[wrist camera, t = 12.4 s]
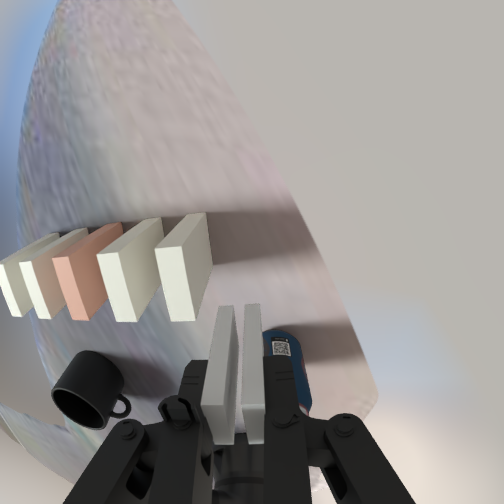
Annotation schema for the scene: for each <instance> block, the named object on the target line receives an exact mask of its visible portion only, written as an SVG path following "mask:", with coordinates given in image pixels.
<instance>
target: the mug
mask: <svg viewBox="0 0 504 504" xmlns="http://www.w3.org/2000/svg"><path fill="white" fill-rule="evenodd" d="M123 387H124V381H123V377H122V375H121V373H120V371H119V370H118V369H117V367H116V366H115V365H114V364H113V363H112V362H110V361H109V360H108V359H106V358H105V357H103V356H101V355H99V354H97V353H94V352H90V351H82V352H79V353H78V354H76V356H75V357H74V358H73V360H72V361H71V363H70V364H69V365H68V367H67V368H66V370H65V371H64V373H63V374H62V376H61V377H60V379H59V380H58V382H57V383H56V385H55V386H54V388H53V389H52V392H51V396H52V399H53V401H54V403H55V404H56V406H57V407H58V408H59V409H60V411H61V412H62V413H63V414H65V415H66V416H67V417H68V418H70V419H71V420H72V421H74V422H76V423H77V424H79V425H81V426H83V427H86V428H89V429H93V430H102V429H104V428H105V427H106V425H107V423H108V421H109V418H110V417H114V418H118V419H120V418H125V417H127V416H128V415H129V413H130V412H131V404H130V402H129V400H128V399H127V398H126V397H124V396H123V395H122V394H120V393H121V391H122V389H123ZM117 400H121V401H123V402H124V404H125V405H126V410H125V411H124V412H123V413H115V412H113V409H114V407H115V405H116V402H117Z"/></svg>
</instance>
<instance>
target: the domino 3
mask: <svg viewBox="0 0 504 504" xmlns="http://www.w3.org/2000/svg"><path fill="white" fill-rule="evenodd" d="M123 234H124V233H123V228H122V223H121V222H118V223H111V224H106V225H104V226H103V227H101V228H99V229H98V230H96V231H94V232H93V233H91V234H89V235H88V236H86V237H84V238H83V239H81V240H79V241H78V242H76V243H75V244H73V245H71V246H70V247H68V248H67V249H65V250H64V251H62V252H60V253H59V254H57V255H56V256H54V257H53V258H52V260H53V264H54V267H55V271H56V274H57V277H58V280H59V283H60V286H61V289H62V292H63V295H64V298H65V301H66V303H67V306H68V309H69V311H70V314H71V316H72V319H73V320H90V319H91V317H92V316H93V315H94V314H95V313H96V311H97V310H98V309H99V308H100V307H101V306H102V304H103V303H104V302H105V301H106V300H107V298H108V294H107V291H106V287H105V284H104V281H103V277H102V274H101V270H100V266H99V263H98V259H97V255H96V254H98V253H99V252H100V251H102V250H103V249H104V248H106V247H107V246H108V245H110V244H111V243H112V242H114V241H115V240H116V239H118V238H119V237H120V236H122V235H123Z"/></svg>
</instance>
